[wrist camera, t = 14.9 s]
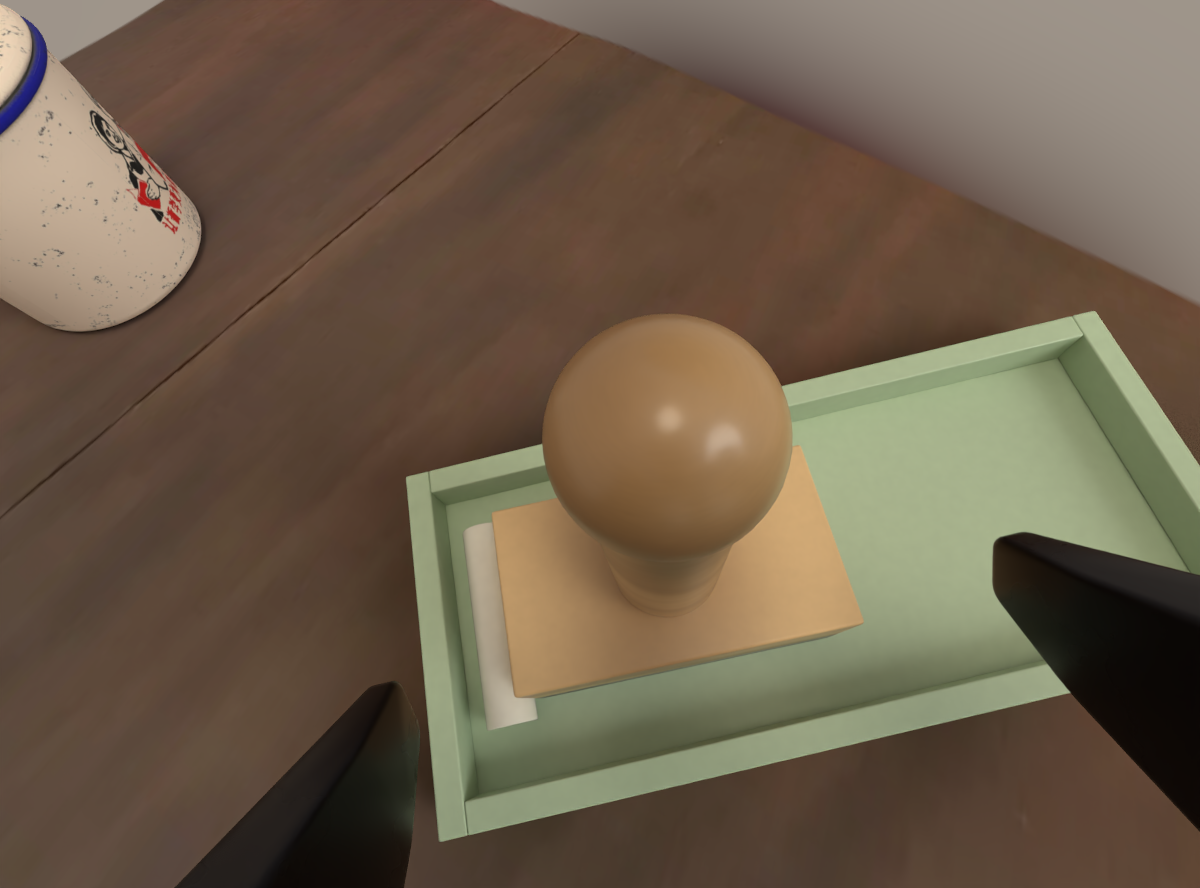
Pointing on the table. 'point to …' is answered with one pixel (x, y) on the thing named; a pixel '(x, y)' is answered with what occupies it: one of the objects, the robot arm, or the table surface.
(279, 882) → the robot arm
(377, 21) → the table surface
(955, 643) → the tray
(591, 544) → the wooden rubber stamp
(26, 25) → the teacup with lid
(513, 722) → the chalk
